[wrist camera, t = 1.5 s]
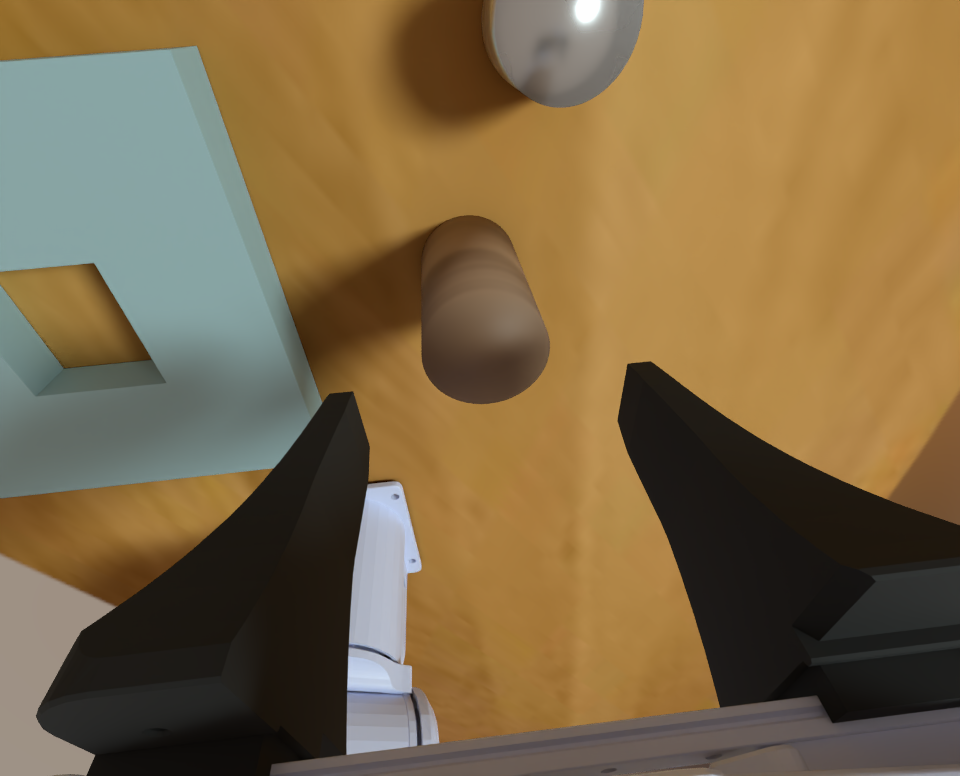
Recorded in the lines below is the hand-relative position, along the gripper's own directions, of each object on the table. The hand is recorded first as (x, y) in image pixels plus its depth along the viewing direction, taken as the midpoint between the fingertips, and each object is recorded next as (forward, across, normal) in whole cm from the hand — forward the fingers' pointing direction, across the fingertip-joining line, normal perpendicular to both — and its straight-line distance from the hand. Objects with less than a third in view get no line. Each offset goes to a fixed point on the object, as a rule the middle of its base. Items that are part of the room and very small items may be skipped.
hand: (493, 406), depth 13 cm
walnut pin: (+10, 0, 0) cm, 10 cm away
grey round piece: (+10, -3, -8) cm, 13 cm away
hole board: (+9, +16, +1) cm, 19 cm away
